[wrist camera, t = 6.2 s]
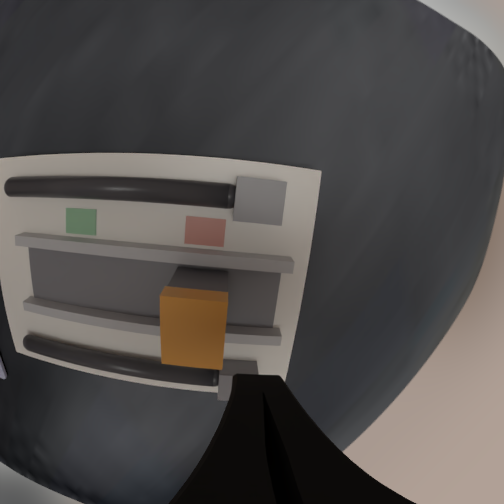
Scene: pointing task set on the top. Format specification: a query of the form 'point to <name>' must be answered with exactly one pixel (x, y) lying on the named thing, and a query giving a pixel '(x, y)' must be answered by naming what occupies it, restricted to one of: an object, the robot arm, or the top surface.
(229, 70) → the top surface
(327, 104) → the top surface
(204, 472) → the robot arm
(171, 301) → the breaker lever
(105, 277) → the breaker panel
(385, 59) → the top surface
